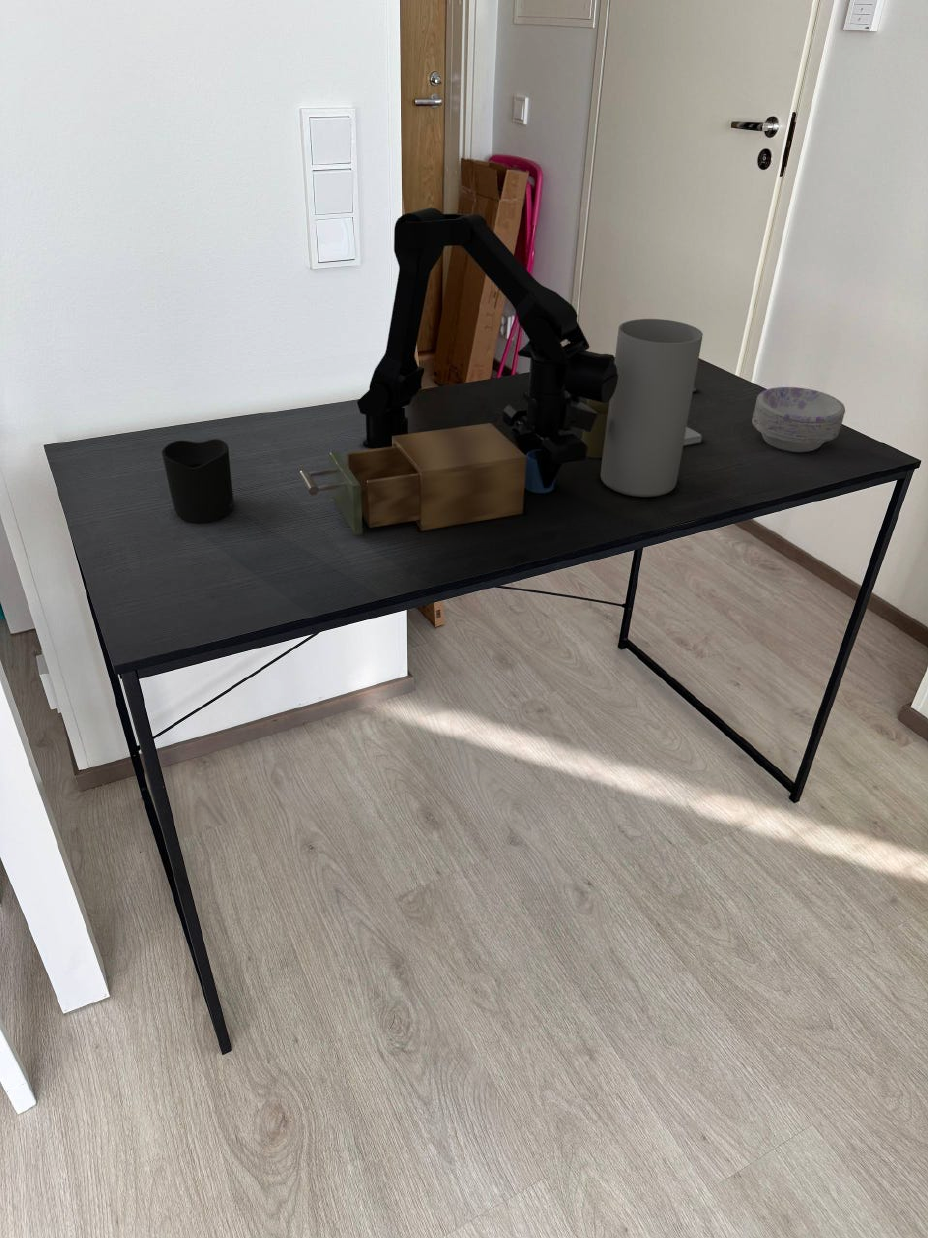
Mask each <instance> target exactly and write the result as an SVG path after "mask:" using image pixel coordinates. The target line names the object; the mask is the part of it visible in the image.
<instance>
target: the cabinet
mask: <svg viewBox="0 0 928 1238" xmlns="http://www.w3.org/2000/svg"><path fill="white" fill-rule="evenodd" d="M392 446H397V447H398V448H399V450H400V451H401V452H402V453H403V455H404V456H405V457H406V458H407V459H408V461H409V462H410V463H411V464H412V465H413V467H414V468H415V469H416V470H417V472H418V473H419V474H420V520H415V521H414V523H415V524H416V525H417V527H419V529H420V530H421V532H422V531H429V530H435V529H440V528H446V527H447V528H448V527H452V526H458V525H459V526H460V525H465V524H471V523H474V522H475V523H476V522H481V521H488V520H493V519H499V518H505V517H511V516H516V515H517V516H518V515H522V514H523V513H524V498H525V487H524V486H525V472H526V458H527V456H526V455H525V454H523V453H522V452H521V451H520V450H519V447H518V446H517V445H515V444H514V443H513V442H512V441H510V439H508V437H506V435H504V434H503V433H502V432H501V431H500V430H499V429H498V428H497V427H495V425H493V423H491V422H488V423H481V424H473V425H465V426H459V427H457V426H456V427H451V428H450V427H449V428H443V429H435V430H427V431H421V432H419V431H418V432H412V433H408V434H404V435H397V436H392Z"/></svg>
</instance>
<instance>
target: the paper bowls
mask: <svg viewBox="0 0 928 1238" xmlns="http://www.w3.org/2000/svg"><path fill="white" fill-rule="evenodd" d="M845 414H846V408H845V405H844V403H842V401H841V400H839V398H836V397H835V396H833V395H831V394H828V393H827V392H826V393H825V392H823V391H819V390H816V389H811V388H807V387H797V386H778V387H771V388H768V389H765V390H763V391H760V393H759V394H758V395H757V397H756V401H755V406H754V410H753V415H752V419H751V422H752V426H753V427H754V428H755V429H756V430H757V431H758V432H759V433H761V436H762V439H763V440H764V442H766V443H767V444H768V445H770V446H772V447H773V448H776V449H779V450H782V451H786V452H791V453H807V452H813V451H815V450H817V449H819V448H821V446H822V445H823V444H824V443H826V442H830V441H833V440H834V439H836V438H837V437H838V436H839V434H840V432H841V427H842V424H843V421H844V416H845Z"/></svg>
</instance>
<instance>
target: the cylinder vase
mask: <svg viewBox="0 0 928 1238" xmlns="http://www.w3.org/2000/svg"><path fill="white" fill-rule="evenodd" d="M703 336H704V334H703V332H702V330H700V329H699V328H698V327H696V326H693V325H691V324H688V323H684V322H680V321H675V320H670V319H661V318H641V319H640V318H639V319H638V318H637V319H632V320H628V321H624V322H622V323H620V324H619V326H618V329H617V336H616V346H615V352H614V353H615V354H614V364H615V365H616V368H617V374H618V381H617V385H616V389H615V392H614V394H613V396H612V398H611V399H610V402H609V410H608V418H607V426H606V434H605V442H604V450H603V458H601V459H602V460H601V468H600V479H601V481H602V483H603V484H604V485H605V486H606V487H607V488H609V489H611V491H614V492H617V493H619V494H622V495H625V496H629V497H636V498H655V497H660V496H664V495H666V494H668V493H670V492H672V491H673V490H674V489H675V487H676V486H677V482H678V479H679V478H678V476H679V471H680V466H681V461H682V454H683V449H684V446H683V444H684V438H685V433H686V427H688V422H689V421H688V420H689V415H690V410H691V404H692V399H693V393H694V392H693V387H695V382H696V376H697V369H698V364H699V358H700V352H701V347H702V342H703Z"/></svg>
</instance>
